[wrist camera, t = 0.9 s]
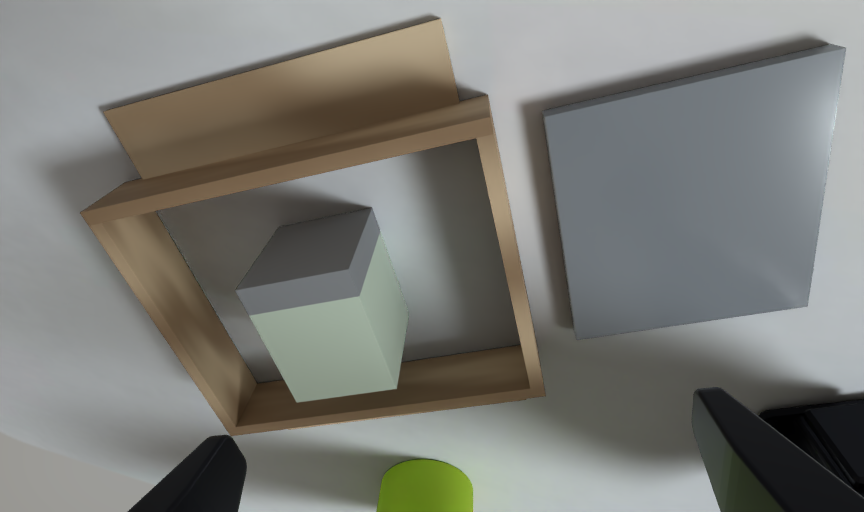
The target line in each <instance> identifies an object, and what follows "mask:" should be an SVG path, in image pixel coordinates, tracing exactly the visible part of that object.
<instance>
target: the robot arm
mask: <svg viewBox="0 0 864 512" xmlns="http://www.w3.org/2000/svg"><path fill="white" fill-rule="evenodd" d="M692 427H693V431H694V435H695V438H696V441H697V444H698V447H699V450H700V453H701V455H702V458H703V461H704V464H705V467H706V470H707V473H708V476H709V479H710V482H711V485H712V488H713V491H714V494H715V496H716V499H717V502H718V505H719V508H720V511H721V512H864V400H857V401H848V402H839V403H830V404H821V405H812V406H803V407H794V408H785V409H777V410H768V411H765V412H763V413H761V414H760V415H759V417H758V416H757V415H756V414H755V413H753V412H752V411H751V410H749V409H748V408H747V407H746V406H744V405H743V404H742V403H740V402H739V401H738V400H736V399H735V398H734V397H733V396H731V395H730V394H729V393H727V392H726V391H725V390H723V389H721V388H718V387H713V388H702V389H697V390H696V391H695V392H694V396H693V410H692ZM246 470H247V465H246V460H245V458H244V456H243V454H242V453H241V451H240V450H239V448H238V446H237V445H236V443H235V441H234V440H233V438H232V437H231V436H229V435H218V436H211V437H209V438H207V439H206V440H205V441H204V442H202V443H201V444H200V445H199V446H198V447H197V448H196V449H195V450H194V451H193V452H192V453H191V454H189V455H188V456H187V457H186V458H185V459H184V460H183V461H182V462H181V463H180V464H179V465H178V466H176V467H175V468H174V469H173V470H172V471H171V472H170V473H169V474H168V475H167V476H166V477H165V478H163V479H162V480H161V481H160V482H159V483H158V484H157V485H156V486H155V487H154V488H153V489H152V490H150V491H149V493H147V494H146V495H145V496H144V497H143V498H142V499H141V500H140V501H139V502H137V504H135V505H134V506H133V507H132V508H131V509H130V510H129V511H128V512H238V509H239V504H240V499H241V495H242V490H243V485H244V481H245V476H246Z"/></svg>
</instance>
